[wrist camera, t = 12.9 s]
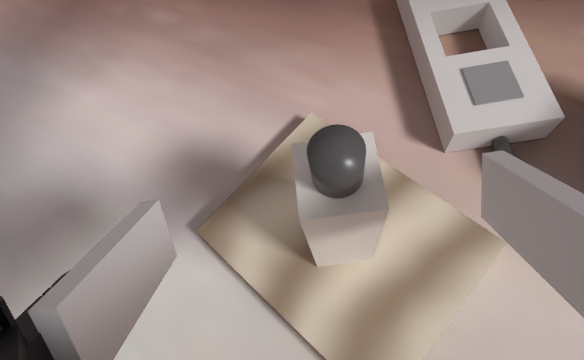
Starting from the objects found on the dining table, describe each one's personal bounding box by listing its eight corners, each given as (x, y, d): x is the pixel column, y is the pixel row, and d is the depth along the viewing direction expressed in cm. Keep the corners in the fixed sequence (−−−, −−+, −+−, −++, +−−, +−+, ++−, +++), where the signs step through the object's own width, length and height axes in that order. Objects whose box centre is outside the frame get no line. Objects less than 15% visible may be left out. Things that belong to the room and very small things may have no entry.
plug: (372, 260, 26) (396, 187, 14) (317, 266, 26) (292, 202, 14) (363, 207, 27) (376, 101, 15) (311, 214, 28) (283, 116, 16)
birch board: (498, 248, 26) (506, 242, 25) (381, 411, 23) (383, 415, 22) (312, 121, 33) (311, 112, 32) (202, 236, 30) (195, 231, 29)
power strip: (564, 181, 28) (593, 159, 24) (458, 196, 28) (472, 177, 25) (469, -26, 38) (481, -60, 34) (392, -11, 38) (396, -44, 35)
